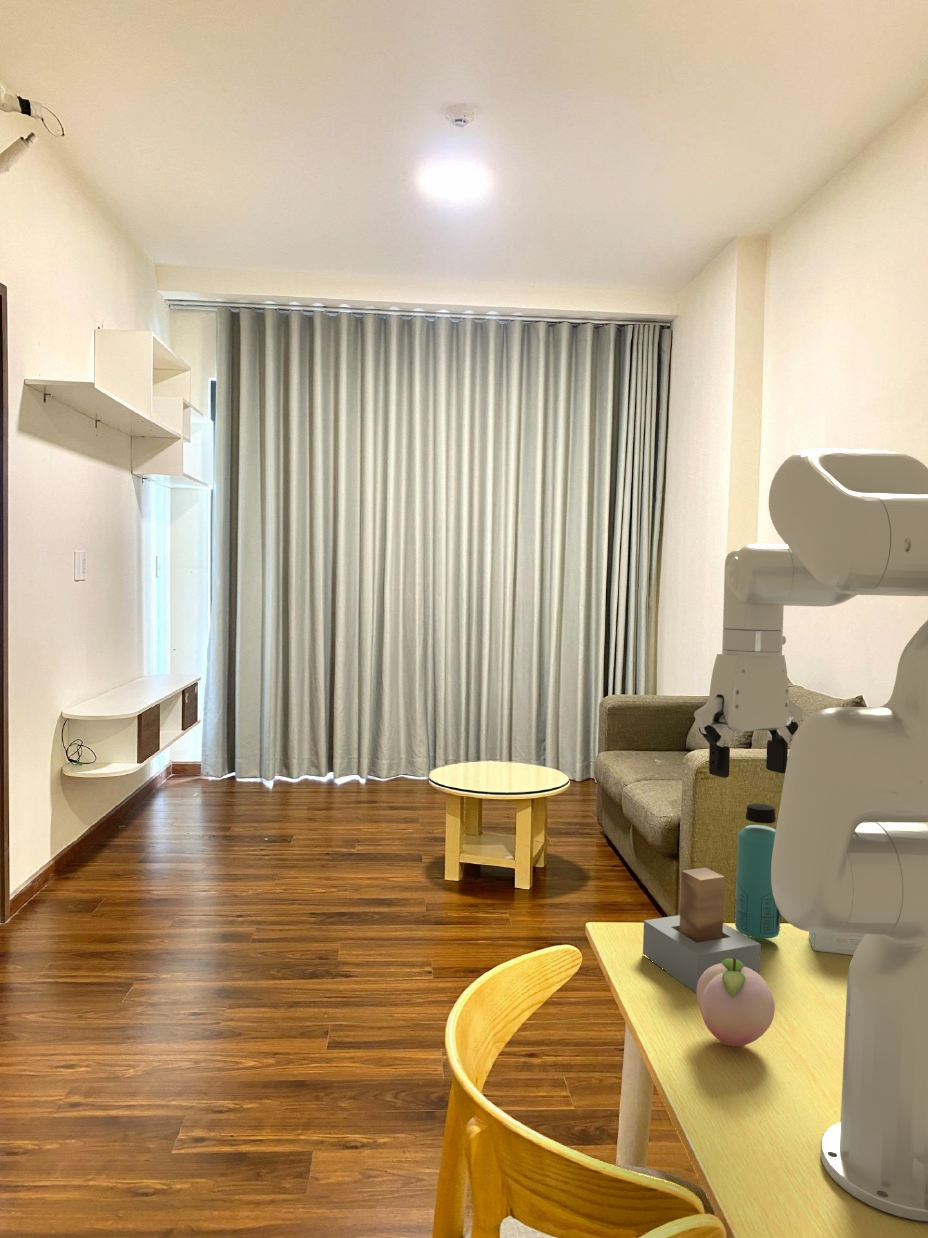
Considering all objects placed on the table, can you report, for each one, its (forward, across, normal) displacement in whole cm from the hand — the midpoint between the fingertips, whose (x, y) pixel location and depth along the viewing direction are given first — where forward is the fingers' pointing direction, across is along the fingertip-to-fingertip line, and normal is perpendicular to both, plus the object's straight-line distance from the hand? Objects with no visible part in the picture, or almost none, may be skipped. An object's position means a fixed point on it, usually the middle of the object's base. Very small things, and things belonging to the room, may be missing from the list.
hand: (748, 773), depth 119 cm
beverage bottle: (+27, -11, -9) cm, 31 cm away
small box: (+27, -21, -3) cm, 34 cm away
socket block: (+27, +3, -5) cm, 28 cm away
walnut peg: (+26, +3, -5) cm, 27 cm away
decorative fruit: (+28, +13, +13) cm, 33 cm away
